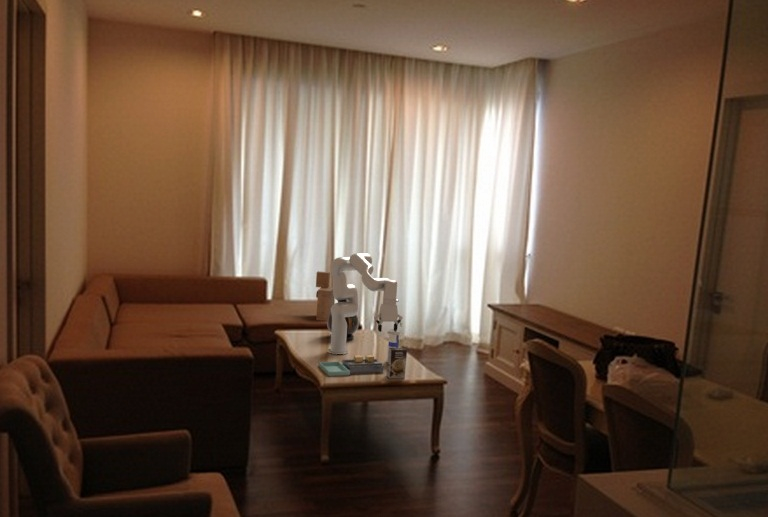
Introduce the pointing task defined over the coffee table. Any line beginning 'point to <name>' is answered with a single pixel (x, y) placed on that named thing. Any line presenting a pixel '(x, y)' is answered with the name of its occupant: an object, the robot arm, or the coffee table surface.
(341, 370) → the tray
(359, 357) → the tan wooden cube
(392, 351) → the coffee box
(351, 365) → the grey flat channelled block
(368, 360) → the tan wooden block
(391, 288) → the robot arm
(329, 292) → the tan blocky figurine
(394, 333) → the water bottle
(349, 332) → the amphora vase
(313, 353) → the coffee table surface
